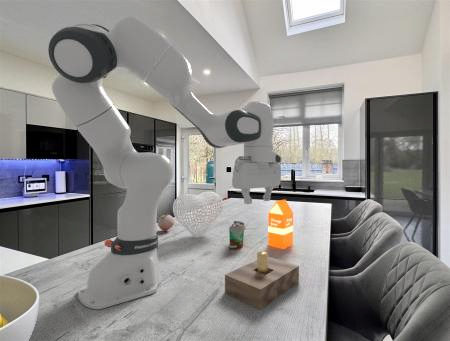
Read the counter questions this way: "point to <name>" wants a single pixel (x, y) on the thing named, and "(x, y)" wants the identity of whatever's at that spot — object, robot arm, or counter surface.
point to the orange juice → (280, 225)
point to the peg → (262, 262)
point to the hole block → (261, 282)
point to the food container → (236, 235)
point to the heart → (196, 197)
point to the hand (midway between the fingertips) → (257, 202)
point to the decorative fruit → (165, 222)
